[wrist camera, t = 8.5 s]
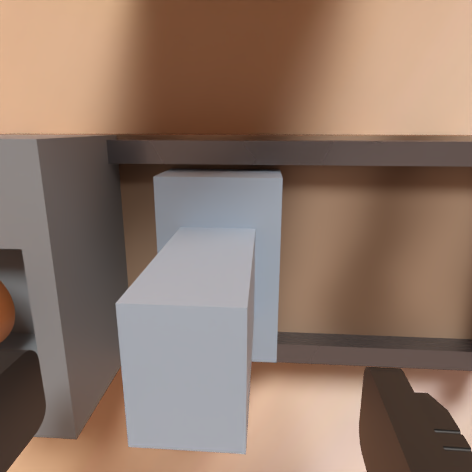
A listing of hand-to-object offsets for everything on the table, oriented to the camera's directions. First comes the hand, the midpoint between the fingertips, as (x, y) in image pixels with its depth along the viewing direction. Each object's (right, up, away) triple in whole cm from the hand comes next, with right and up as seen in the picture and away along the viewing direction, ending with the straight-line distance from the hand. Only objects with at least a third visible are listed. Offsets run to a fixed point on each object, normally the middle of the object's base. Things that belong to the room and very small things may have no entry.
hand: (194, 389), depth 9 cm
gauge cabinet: (-7, +3, +10) cm, 13 cm away
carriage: (+1, +3, +10) cm, 10 cm away
